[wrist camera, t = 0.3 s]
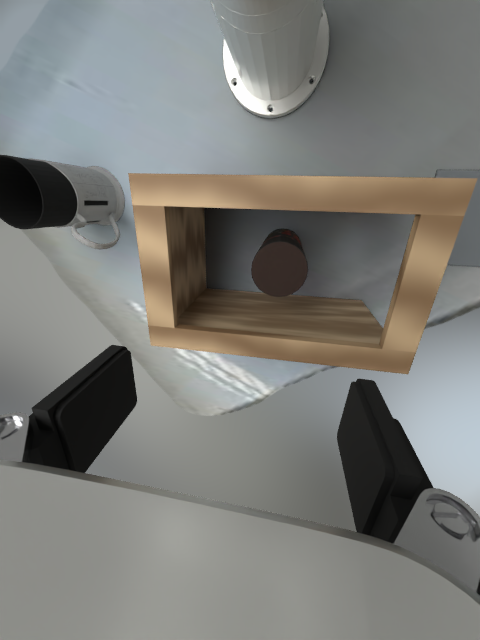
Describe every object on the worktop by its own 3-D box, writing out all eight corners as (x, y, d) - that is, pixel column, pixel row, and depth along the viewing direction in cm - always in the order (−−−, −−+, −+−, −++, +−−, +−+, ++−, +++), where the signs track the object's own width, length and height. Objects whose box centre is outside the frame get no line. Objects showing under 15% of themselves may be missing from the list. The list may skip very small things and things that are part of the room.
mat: (436, 169, 34) (438, 169, 34) (542, 171, 32) (545, 170, 32) (409, 262, 39) (410, 262, 39) (500, 267, 37) (502, 268, 37)
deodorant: (300, 267, 42) (305, 297, 28) (262, 267, 43) (251, 296, 29) (302, 228, 40) (310, 241, 26) (263, 229, 40) (250, 241, 27)
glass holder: (87, 152, 40) (-15, 127, 27) (161, 215, 42) (102, 221, 29) (67, 201, 44) (-31, 200, 30) (136, 257, 46) (74, 279, 32)
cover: (197, 186, 40) (128, 173, 22) (386, 190, 36) (477, 178, 19) (201, 293, 47) (150, 345, 29) (360, 306, 43) (408, 374, 26)
